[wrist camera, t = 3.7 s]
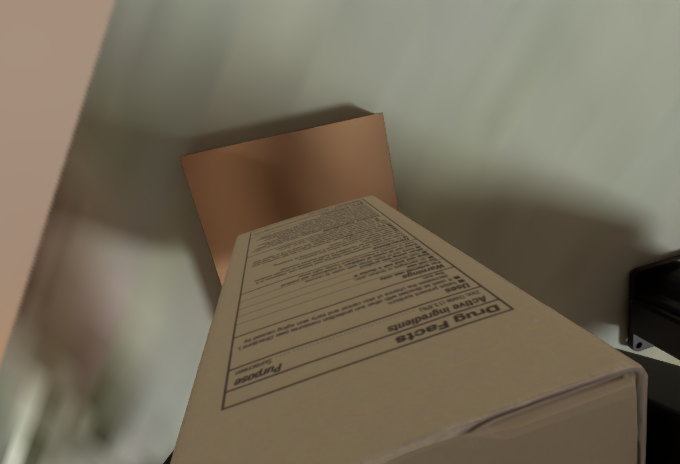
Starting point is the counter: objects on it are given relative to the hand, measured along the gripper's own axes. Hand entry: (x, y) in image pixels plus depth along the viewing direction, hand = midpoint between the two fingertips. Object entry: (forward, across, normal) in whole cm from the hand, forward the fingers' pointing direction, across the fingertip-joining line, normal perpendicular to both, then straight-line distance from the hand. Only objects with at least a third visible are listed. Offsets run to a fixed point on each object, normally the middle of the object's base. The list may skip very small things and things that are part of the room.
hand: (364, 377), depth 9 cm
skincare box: (+8, 0, 0) cm, 8 cm away
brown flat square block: (+14, 0, 0) cm, 14 cm away
